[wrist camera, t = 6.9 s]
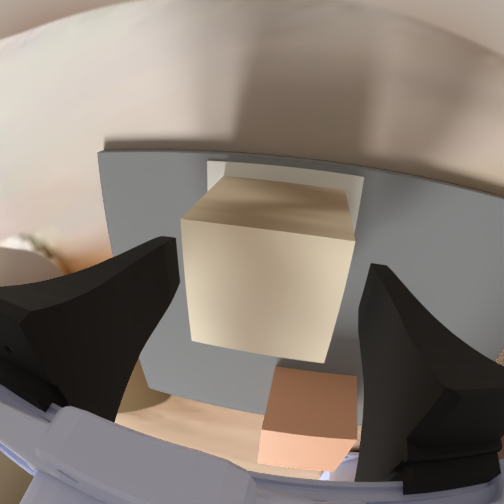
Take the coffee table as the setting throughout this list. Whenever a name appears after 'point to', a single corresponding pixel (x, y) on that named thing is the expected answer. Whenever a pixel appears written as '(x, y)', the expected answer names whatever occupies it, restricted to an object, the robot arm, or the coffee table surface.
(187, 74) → the coffee table surface
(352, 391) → the terracotta block
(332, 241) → the birch block
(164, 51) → the coffee table surface
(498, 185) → the coffee table surface
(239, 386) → the build mat
